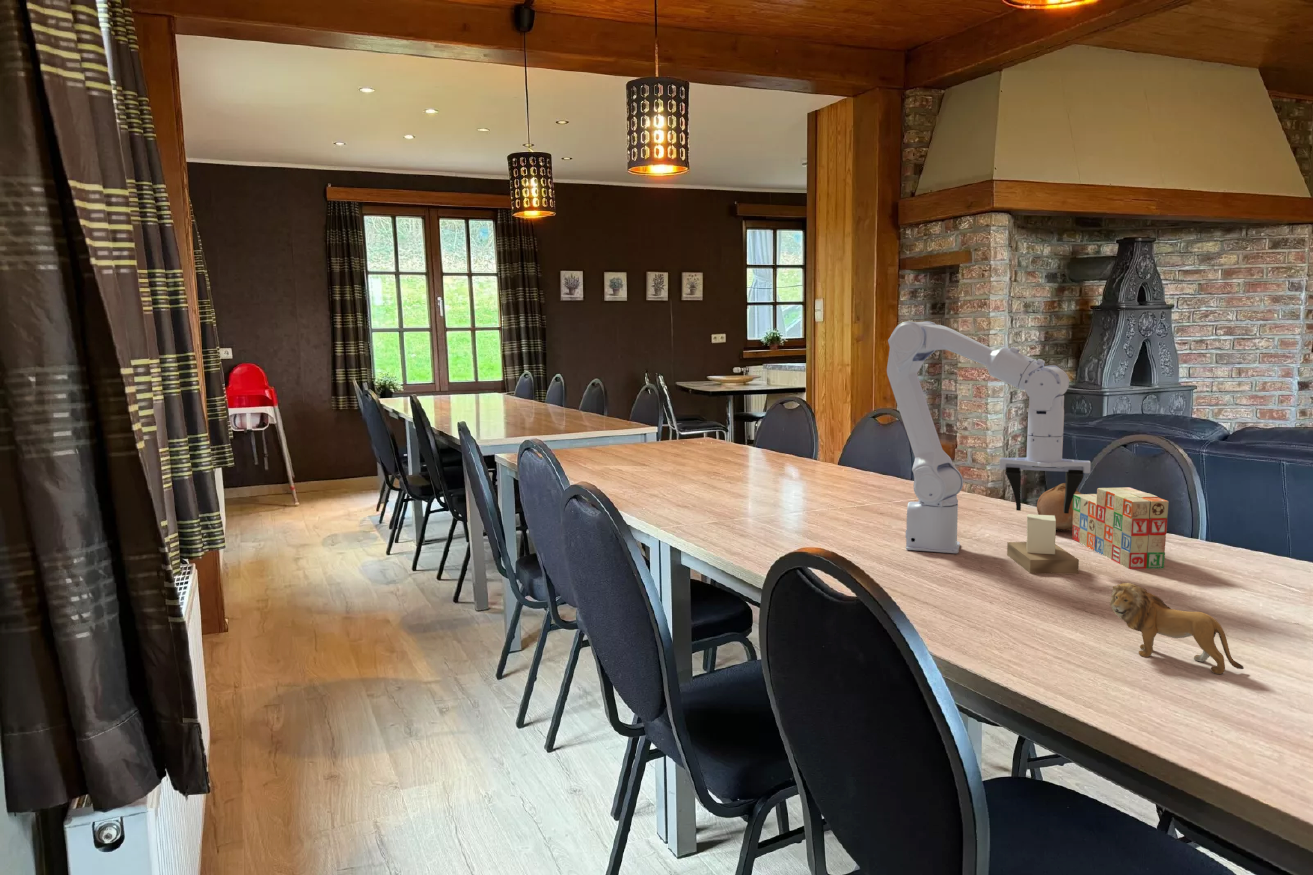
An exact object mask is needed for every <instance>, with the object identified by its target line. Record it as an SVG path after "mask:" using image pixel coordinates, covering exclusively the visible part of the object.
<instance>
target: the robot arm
mask: <svg viewBox="0 0 1313 875" xmlns="http://www.w3.org/2000/svg"><path fill="white" fill-rule="evenodd" d="M887 342H888V347H889V351H888V360H887V366H886V375H887V378H888V381H889V384H890V388H891V390H892V393H893V397H894V399H895V402H896V405H897V407H898V411H899V414H900V416H901V417H900V418H901V420H902V422H903V425H904V429H905V432H906V434H907V437H908V440H909V443H910V447H911V449H912V452H913V456H914V460H913V461H914V462H913V465H912V468H911V471H912V473H913V492H914V494H915V496H916V497H917V499H918V501H908V503H907V507H906V529H905V540H906V541H905V543H906V544H905V546H906V547H905V550H908V551H918V552H919V551H920V552H932V553H933V552H934V553H944V554H959V550H960V545H961V543H960V541H958V516H959V514H958V513H959V512H958V510H959V503H958V502H959V500H958V496H957V495H958V494H959V493H960V492H962V489H963V486H964V478H963V475H962V474H961V472H960V470H958V469H957V468H956V466H955V465H954V464H953V461H952V458H951V457H950V456H949V455H948V453H946V451H945V450H944V449H943V447H942V443H941V441H940V438H939V434H938V432H937V430H936V426H935V423H934V420H933V417H932V414H931V411H930V408H929V405H928V402H927V399H926V396H925V393H924V391H923V388H922V384H921V382H920V379H919V376H918V373H919V371H920V369H921V368H922V366H923V364H924V363H925V361H926V360H927V359H928V358H929V357H930V356H932V355H933V354H934V353H935V352H936V351H942V350H945V351H950V352H951V353H953V354H955V355H959V356H961V357H964V358H965V359H967V360H968V359H969V360H971V361H973V362H975V363H978V364H981V365H983V366H985V367H986V370H987V372H988V374H989V376H990V377H992V378H994V379H997V380H999V381H1001V382H1003V383H1005V384H1008V385H1010V386H1012V387H1014V388H1016V389H1018V390H1020V391H1025V394H1026V395H1027V397H1028V399H1029V400H1028V410H1027V437H1026V439H1027V440H1026V456H1025V457H999V466H998V468H999V470H1002V471H1003V470H1004V471H1005V475H1006V477H1007V479H1008V482H1009V484H1010V487H1011V490H1012V492H1013V496H1014V500H1015V505H1016V507H1015V508H1016V512H1017V511H1022V500H1021V486H1022V485H1021V481H1022V471H1039V472H1040V471H1041V472H1043V471H1045V472H1065V483H1066V485H1065V499H1064V513H1069V508H1070V504H1071V501H1072V499H1073V496H1074V494H1075V492H1076V490H1077V491H1078V489H1079V486H1080V485H1081V483H1082V482H1083V479H1084V474H1091V466H1092V465H1091V463H1092V462H1091V461H1090V460H1084V459H1083V460H1081V459H1080V460H1079V459H1070V458H1068V459H1067V458H1063V444H1064V442H1063V441H1064V427H1065V426H1064V423H1065V422H1064V421H1065V408H1064V407H1065V395H1064V394H1066V393H1067V391H1068V388H1069V385H1070V378H1069V376H1068V374H1067V372H1065V371H1064V370H1063V369H1062V368H1060V367H1059V366H1058V365H1055V364H1053V365H1045V362H1046V361H1045V360H1043V359H1041V358H1038V359H1037V360H1036V359H1034V358H1032V357H1030V356H1027V355H1025V354H1022V353H1021V352H1020V351H1021V349H1020V348H1018V347H1016V346H1010V347H1006V346H1003V347H1001V348H998V349H996V350H995V349H994V348H992V347H990V346H987V345H986V344H984V343H981V342H979V341H977V340H976V339H973V338H971V337H969V336H967V335H965V334H963V333H961V332H958V331H957V330H955V329H953V328H951V327H949V326H945V325H941V324H936V322H933V321H930V320H929V321H928V320H924V321H910V320H908V321H903V322H900V323H899V324H897V326H896V327H895V328H894V329H893V331H892V333H891V335H890V337H889V338H888V340H887Z"/></svg>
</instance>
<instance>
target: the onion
mask: <svg viewBox="0 0 1313 875" xmlns="http://www.w3.org/2000/svg"><path fill="white" fill-rule="evenodd" d="M1065 485H1066V482H1063V483H1060V484H1058V485H1056V486H1054V487H1052V488H1049V489H1048V490H1046V491H1044V492H1043V493H1042V494H1040V496H1039V497H1038V500H1037V502H1036V511H1037V515H1054V516H1055V520H1056V530H1057V531H1061V530H1062V531H1070V530H1073V499H1072V501H1071V504H1070V508H1069V513H1064V499H1065ZM1075 494H1082V493H1081V492H1080V491H1079V490H1078V489H1077V490H1076V492H1075ZM1062 531H1061V532H1062Z"/></svg>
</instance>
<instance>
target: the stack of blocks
mask: <svg viewBox="0 0 1313 875" xmlns="http://www.w3.org/2000/svg"><path fill="white" fill-rule="evenodd" d="M1158 496H1159V495H1158ZM1158 496H1157V495H1154V494H1152V493H1147V492H1145V491H1143V490H1142V491H1141V490H1138V489H1135V488H1133V487H1126V486H1125V487H1098V488H1097V489H1096V493H1087V494H1086V493H1085V494H1084V493H1081V494H1074V496H1073V529H1072V535H1071V536H1072V537H1071V539H1072V540H1073V541H1075V542H1077V543H1079V544H1081V543H1082V544H1081V545H1083V544H1084V545H1085V546H1084V545H1083V546H1084V547H1087V548H1088V547H1090V548H1091V549H1090V548H1089V549H1090V550H1092V549H1093V550H1092V551H1094V550H1095V552H1097V553H1098V552H1099V553H1098V554H1100V553H1101V554H1100V555H1102V554H1103V555H1102V556H1104V557H1106V556H1107V557H1106V558H1108V559H1110V560H1111V561H1113V562H1115V563H1117V564H1119V565H1121V566H1122V565H1123V567H1125V568H1127V569H1130V570H1133V569H1136V570H1139V569H1142V570H1144V569H1164V568H1165V560H1166V559H1165V557H1166V552H1165V551H1166V550H1165V549H1166V539H1167V538H1166V537H1167V532H1168V530H1167V529H1168V514H1169V500H1166V499H1164V498H1161V497H1158Z"/></svg>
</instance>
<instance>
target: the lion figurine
mask: <svg viewBox="0 0 1313 875" xmlns="http://www.w3.org/2000/svg"><path fill="white" fill-rule="evenodd" d="M1109 605H1110V608H1111V609H1112V611H1113V613H1114V614H1115V615H1116V616H1117V617H1118V618H1119V619H1121V620H1122V621H1123V622H1125V623H1126V625H1127V627H1128V628H1129V629H1131V630H1133V631H1137V632H1141V635H1142V636H1141V638H1142V642H1143V644H1140V645H1139V648H1140V650H1139V651H1138V655H1139V656H1140V657H1144V658H1148V657H1151V656H1152V654H1153V653H1154V639H1155V638H1156V636H1157V634H1158V635H1161V636H1165V637H1168V638H1172V639H1184V638H1189V637H1193V639H1194V640H1195V642H1196V644H1197V645H1198V647H1200V649H1201V650H1202V653H1201V654H1195V655H1194V656H1193V660H1194V661H1197V662H1206V661H1207V660H1208V659H1209V658H1210V657H1211V659H1212V660H1214V661H1215V663H1216V665H1212V667H1210V670H1211V672H1212V673H1214V674H1217V675H1222V674H1224V672H1225V669H1226V664H1225V658H1224V655H1223V654H1222V653H1221V651H1219V650H1218V649H1219V648H1218V647H1217V646H1216V643H1215V638H1216V635H1217V634H1218V637H1219V639H1220V643H1221V645H1222V648H1223V651H1224V654H1225V656H1226V658H1227V661H1228V662H1229V664H1230V665H1231V666H1232V667H1233V668H1236V669H1238V670H1244V668H1245V667H1244V665H1242V664H1240V663H1239V662H1238V661H1235V660H1234V658H1232V655H1231V652H1230V648H1229V644H1228V641H1227V640H1228V638H1227V636H1226V634H1225V631H1224V629H1223V627H1222V626H1221V624H1220V623H1219V621H1218V620H1217V619H1215V617H1213V616H1212V615H1209V614H1207V613H1205V612H1202V611H1185V610H1179V609H1174V608H1171V607H1170V606H1169V605H1167V604H1166V603H1165V602H1164V601H1163V600H1162V598H1160V597H1158V596H1157V595H1155V594H1153V593H1150V592H1149V591H1147V589H1145V588H1144V587H1141V586H1139V585H1137V584H1134V583H1131V582H1122V583H1120V584H1117V585H1114V586H1112V592H1111V597H1110V603H1109Z"/></svg>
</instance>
